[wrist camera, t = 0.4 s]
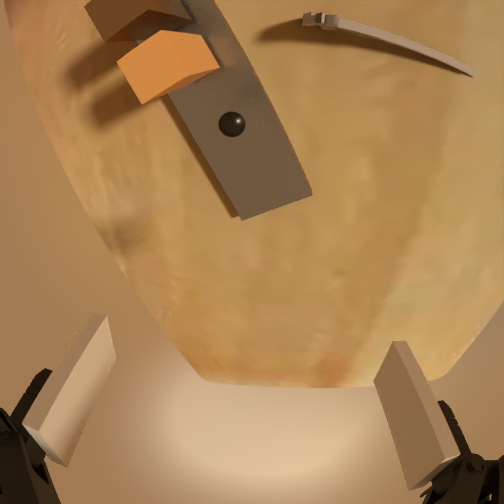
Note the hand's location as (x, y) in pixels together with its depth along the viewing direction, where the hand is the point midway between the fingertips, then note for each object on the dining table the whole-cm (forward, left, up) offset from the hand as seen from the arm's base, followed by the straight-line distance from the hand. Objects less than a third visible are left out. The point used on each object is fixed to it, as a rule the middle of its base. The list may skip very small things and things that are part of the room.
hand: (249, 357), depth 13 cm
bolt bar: (+2, -10, -25) cm, 27 cm away
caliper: (-18, -8, -26) cm, 32 cm away
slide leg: (+2, -14, -23) cm, 27 cm away
